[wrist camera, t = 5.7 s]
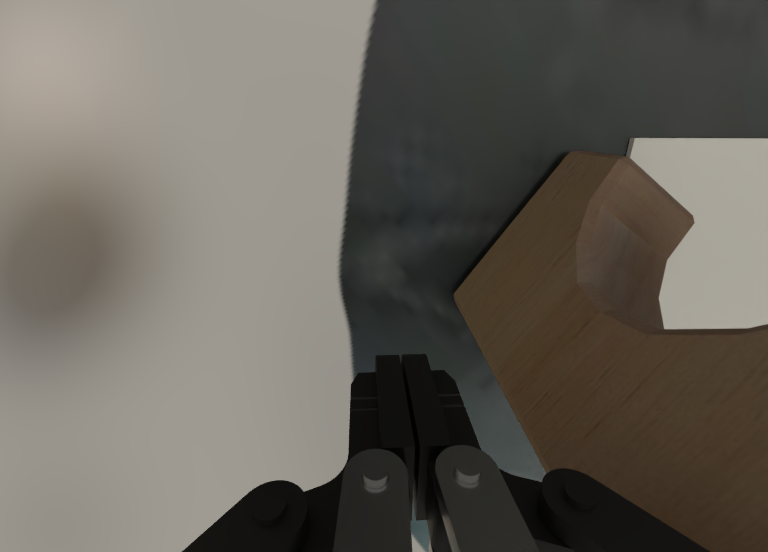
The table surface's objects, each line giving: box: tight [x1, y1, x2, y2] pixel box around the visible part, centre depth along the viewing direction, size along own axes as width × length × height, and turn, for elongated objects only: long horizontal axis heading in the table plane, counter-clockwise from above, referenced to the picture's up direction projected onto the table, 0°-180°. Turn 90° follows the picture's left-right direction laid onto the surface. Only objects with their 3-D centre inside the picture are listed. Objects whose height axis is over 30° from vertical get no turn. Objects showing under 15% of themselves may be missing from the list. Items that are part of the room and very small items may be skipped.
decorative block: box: [454, 150, 768, 552], centre depth 14 cm, size 11×6×20 cm, turn 144°
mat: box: [626, 138, 768, 329], centre depth 23 cm, size 20×12×1 cm, turn 90°
